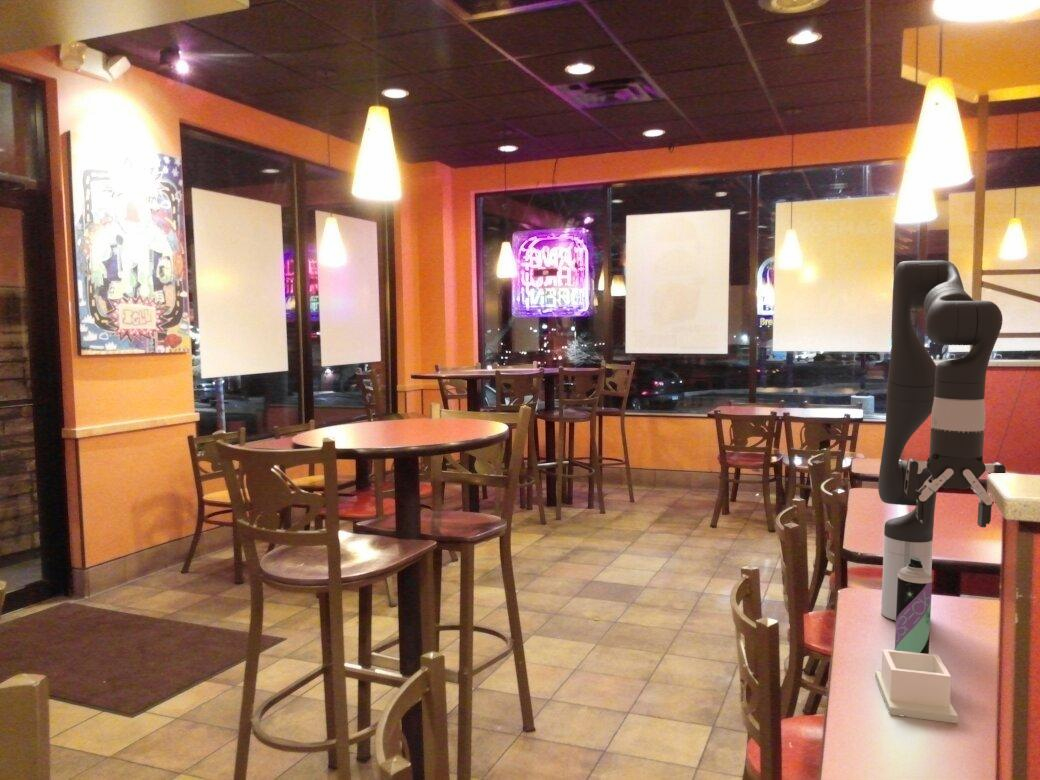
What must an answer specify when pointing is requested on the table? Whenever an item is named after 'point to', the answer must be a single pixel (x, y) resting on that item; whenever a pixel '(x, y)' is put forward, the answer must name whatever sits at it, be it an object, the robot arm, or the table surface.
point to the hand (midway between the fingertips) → (952, 524)
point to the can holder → (916, 685)
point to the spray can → (913, 608)
